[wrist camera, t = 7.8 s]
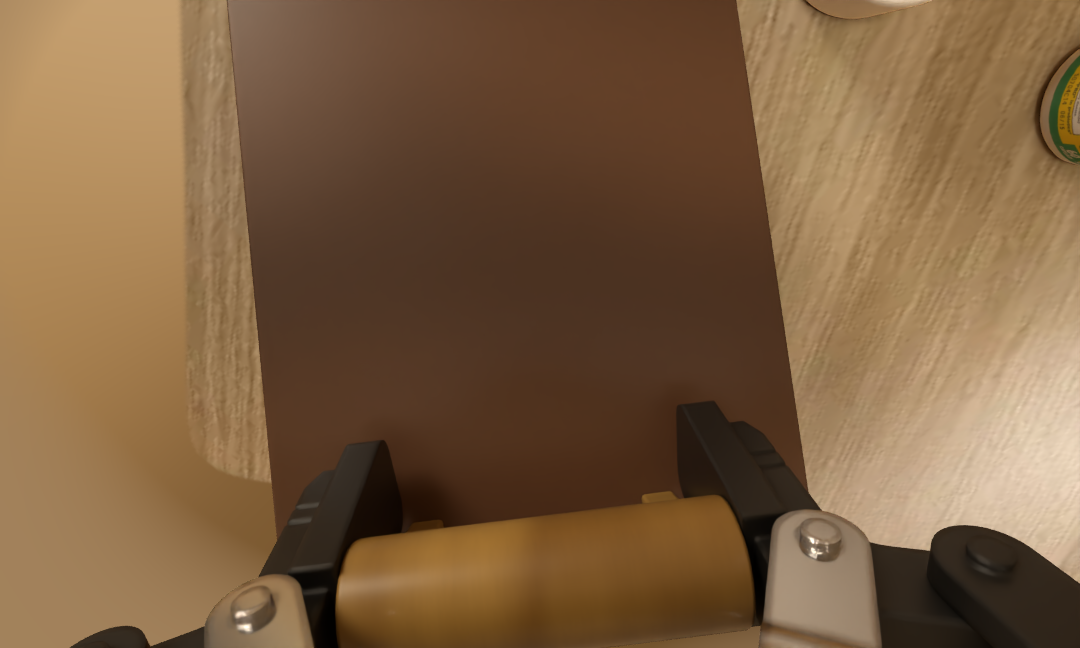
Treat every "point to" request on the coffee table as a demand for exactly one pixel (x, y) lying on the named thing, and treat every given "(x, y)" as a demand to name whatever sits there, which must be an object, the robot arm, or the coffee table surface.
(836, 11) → the white brass knuckles
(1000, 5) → the coffee table surface
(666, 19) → the lid
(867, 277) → the coffee table surface
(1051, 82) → the supplement bottle
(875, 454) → the coffee table surface
